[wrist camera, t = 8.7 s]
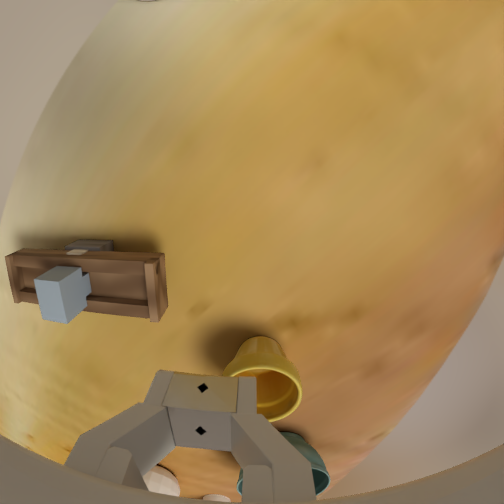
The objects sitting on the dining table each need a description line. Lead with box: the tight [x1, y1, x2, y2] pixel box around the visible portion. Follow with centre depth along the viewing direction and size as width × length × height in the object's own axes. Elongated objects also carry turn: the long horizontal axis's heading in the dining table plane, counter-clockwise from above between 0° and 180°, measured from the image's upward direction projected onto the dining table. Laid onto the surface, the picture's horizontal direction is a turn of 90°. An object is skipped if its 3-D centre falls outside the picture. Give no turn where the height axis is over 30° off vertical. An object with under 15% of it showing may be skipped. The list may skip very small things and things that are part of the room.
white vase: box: [143, 465, 180, 497], centre depth 47 cm, size 13×13×14 cm
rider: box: [34, 266, 92, 324], centre depth 30 cm, size 5×4×7 cm
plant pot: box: [222, 336, 302, 422], centre depth 38 cm, size 10×10×10 cm
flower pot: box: [237, 432, 330, 496], centre depth 44 cm, size 16×16×11 cm
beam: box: [5, 240, 168, 322], centre depth 35 cm, size 8×24×8 cm, turn 89°
